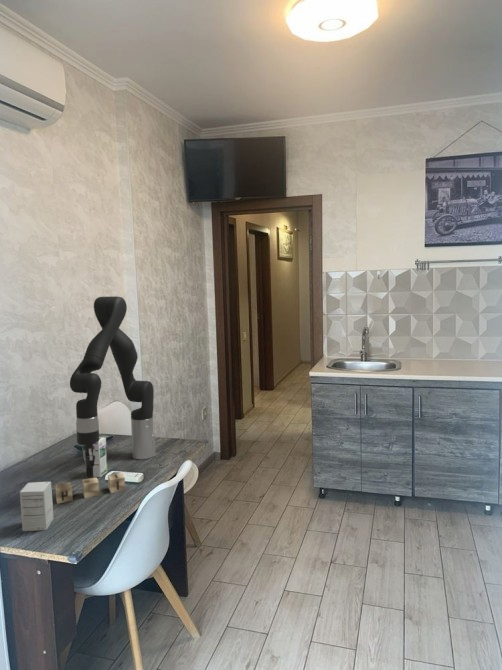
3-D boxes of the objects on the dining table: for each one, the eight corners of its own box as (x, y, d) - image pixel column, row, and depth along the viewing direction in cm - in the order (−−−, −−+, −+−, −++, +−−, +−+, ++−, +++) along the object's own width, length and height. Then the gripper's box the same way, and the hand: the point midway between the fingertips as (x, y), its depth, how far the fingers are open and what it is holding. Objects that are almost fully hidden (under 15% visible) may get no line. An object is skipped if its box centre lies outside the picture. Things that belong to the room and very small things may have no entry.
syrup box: (101, 477, 189) (99, 441, 187) (87, 476, 190) (85, 440, 188) (108, 472, 194) (106, 436, 193) (94, 471, 195) (92, 436, 194)
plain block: (97, 490, 177) (96, 477, 177) (99, 495, 173) (98, 482, 172) (82, 493, 175) (82, 479, 174) (84, 498, 170) (84, 484, 170)
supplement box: (30, 520, 155) (27, 482, 154) (54, 518, 156) (52, 480, 154) (21, 531, 148) (18, 491, 146) (46, 530, 148) (44, 490, 147)
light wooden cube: (71, 495, 173) (70, 481, 173) (72, 501, 169) (71, 487, 168) (56, 498, 171) (55, 484, 170) (57, 504, 166) (56, 490, 166)
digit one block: (122, 485, 181) (121, 472, 180) (125, 490, 176) (124, 477, 176) (108, 488, 179) (107, 474, 178) (111, 493, 174) (110, 479, 174)
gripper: (101, 432, 167) (103, 481, 169) (95, 423, 179) (97, 468, 180) (78, 435, 164) (81, 485, 165) (74, 425, 176) (76, 472, 177)
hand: (89, 476), depth 173 cm, fingers closed
